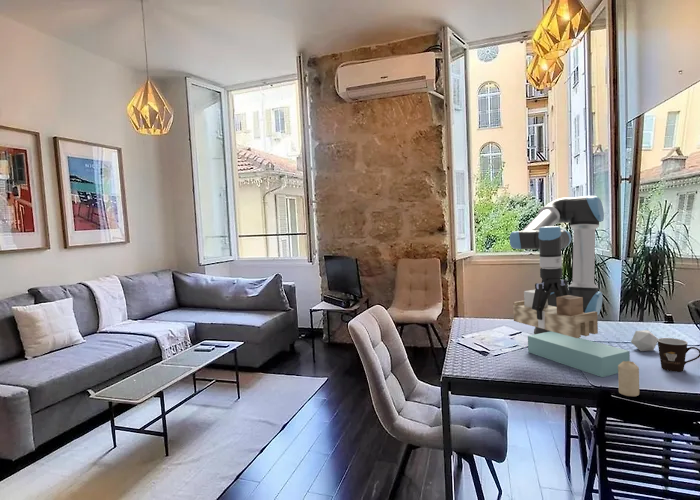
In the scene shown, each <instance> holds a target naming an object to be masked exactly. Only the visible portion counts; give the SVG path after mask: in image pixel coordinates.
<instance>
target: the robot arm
mask: <svg viewBox="0 0 700 500" xmlns="http://www.w3.org/2000/svg"><path fill="white" fill-rule="evenodd" d="M604 219H605V212H604V205H603V203H602V200H601V198H600V197H599V196H596V195H585V196H583V195H581V196H574V197H572V196H571V197H560V198H557V199H555V200H552V201H550V202H548V203H547V204H544V206H543V207H541V208H540V209H539V210H538V213H537V215H536V216H535V217H534V218H533V219H532V220H531V221H530V222H529V223H528V224H527V225H526V226H525V227H523V228H522V230H514V231H512V232H511V233H510V234H509V245H510V247H511V248H512V249H514V250H539V252H538V253H539V267H540V268H539V275H540V276H539V277H540V278H541V282H539V283H538V282H537V283H536V282H535V284H534V290H535V294H534V299H533V304H532V309H533V310H536V311H537V319H538V327H539V328H538V327H534V329H533V335H535V334H540V333H545V332H550V331H549V330H545V311H543V309H544V307H545V304H546V301H547V299H548V305H550V306H554V307H557V301H556V297H560V296H566V295H571V296H577V297H583V312H584V313H588V312H593V311H595V312H597V317H598V316H599V315H600V312H601V309H602V306H603V297H604V296H603V292H601V291H599V286H597V284H595V266H596V265H595V256H596V253H595V252H596V246H595V245H596V230H597V229H598V228H599V226H600V223H602V222H603V221H604ZM568 223H569V227H570V228H571V229H572V230H573V234H572V235H573V236H572V235H571V233H570V232H569V231H567V230H566V229H562V228H561V227H560V225H557V224H568ZM572 237H573V240H572ZM572 241H573V245H572V246H573V247H572V282H571V283H570V284H569V285H568V280H567V279H562V278H563V268H562V266H563V263H562V250H563V249H565V248H567V247H568V246H569V245H570V244H571V242H572ZM545 291H546V292H545ZM541 328H543V329H541Z"/></svg>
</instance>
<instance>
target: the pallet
mask: <svg viewBox="0 0 700 500" xmlns="http://www.w3.org/2000/svg"><path fill="white" fill-rule="evenodd" d="M512 308H513V310H512V311H513V321H514V322H517V323H520V324H523V325H528V326H532V327H534V328H535V327H538V319H537V311H536V310H533V309H532V308H530V307H526V306H524V300H519V301H513V302H512ZM543 311H545V330H549V331H552V332H556V333H560V334H563V335H567V336H571V337H574V338H582V336H583V337H588V336H590V334H591V335H598V334H599V328H598V327H599V324H598V323H599V322H598V316H597V312H595V311H593V312H588V313H584V312H583V314H578V315H573V316H566V315H562V314H557V307H554V306H550V305H548V307H544V309H543ZM538 328H539V327H538ZM541 329H543V328H541Z"/></svg>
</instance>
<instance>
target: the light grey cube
mask: <svg viewBox="0 0 700 500" xmlns="http://www.w3.org/2000/svg"><path fill="white" fill-rule="evenodd" d="M545 292H546V291H545ZM534 294H535V289H529V290H523V299H524V300H523V301H524V306H526V307H530V308H532V304H533V299H534ZM545 307H548V299H547V301H546V304H545Z"/></svg>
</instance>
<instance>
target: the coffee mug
mask: <svg viewBox="0 0 700 500" xmlns="http://www.w3.org/2000/svg"><path fill="white" fill-rule="evenodd" d="M657 341H658V342H657V346H658V347H657V348H658V354H659V360H660V366H661V367H660V368H661V369H663V370H664V371H668V372H671V373H672V372H673V373H681V372H684V371H685V366H686V364H687V363H691V362H693V361H695V360H697V359H699V358H700V349H699V348H698V347H695V346H690V347H688V341H686V340H683V339H680V338H673V337H672V338H671V337H661V338H658V340H657ZM692 349H694V350H695V351H696V350H697V352H698V353H699V354H698V356H696V357H694V358H691V359H689V360H686V356H687V353H688V352H689V351H690V350H692Z"/></svg>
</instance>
